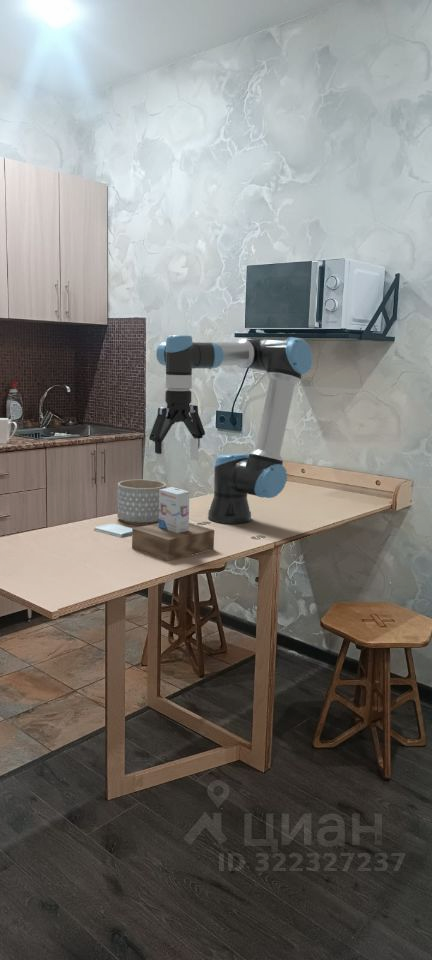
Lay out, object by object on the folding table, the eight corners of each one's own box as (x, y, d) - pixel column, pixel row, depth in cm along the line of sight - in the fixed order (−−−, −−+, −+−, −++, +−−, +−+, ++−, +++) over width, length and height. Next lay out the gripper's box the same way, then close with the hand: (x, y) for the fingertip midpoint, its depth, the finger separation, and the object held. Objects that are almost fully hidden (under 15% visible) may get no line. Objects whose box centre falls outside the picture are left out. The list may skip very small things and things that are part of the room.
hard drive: (139, 529, 223) (112, 522, 231) (121, 534, 217) (93, 526, 224) (139, 534, 224) (112, 527, 231) (121, 539, 217) (93, 531, 225)
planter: (112, 515, 245) (113, 480, 243) (157, 513, 251) (158, 478, 248) (123, 527, 230) (124, 489, 228) (171, 524, 236) (172, 487, 233)
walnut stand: (177, 538, 219) (177, 519, 218) (213, 549, 208) (214, 530, 207) (132, 547, 206) (132, 528, 205) (168, 560, 195) (168, 539, 194)
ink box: (157, 527, 207) (158, 488, 205) (170, 525, 210) (171, 486, 208) (176, 533, 201) (177, 493, 199) (189, 530, 205) (190, 491, 202)
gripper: (199, 387, 214) (198, 456, 218) (136, 390, 196) (136, 465, 200) (217, 389, 209) (216, 459, 213) (154, 392, 191) (154, 468, 195)
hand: (177, 462), depth 206 cm, fingers open, 13 cm apart
